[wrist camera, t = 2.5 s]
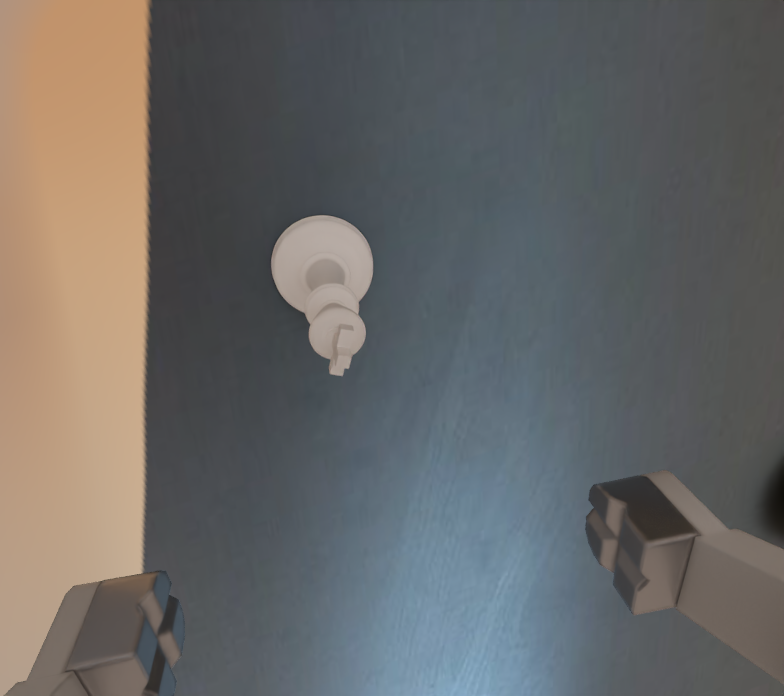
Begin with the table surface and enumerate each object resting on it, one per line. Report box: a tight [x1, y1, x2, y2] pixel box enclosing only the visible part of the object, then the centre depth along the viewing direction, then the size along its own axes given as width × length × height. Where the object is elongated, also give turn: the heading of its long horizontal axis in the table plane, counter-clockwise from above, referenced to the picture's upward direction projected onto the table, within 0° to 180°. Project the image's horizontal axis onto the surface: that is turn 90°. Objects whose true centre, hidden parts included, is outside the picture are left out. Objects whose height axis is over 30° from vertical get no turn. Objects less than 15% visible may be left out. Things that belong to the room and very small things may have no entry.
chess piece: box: [271, 215, 373, 376], centre depth 21 cm, size 5×5×10 cm
